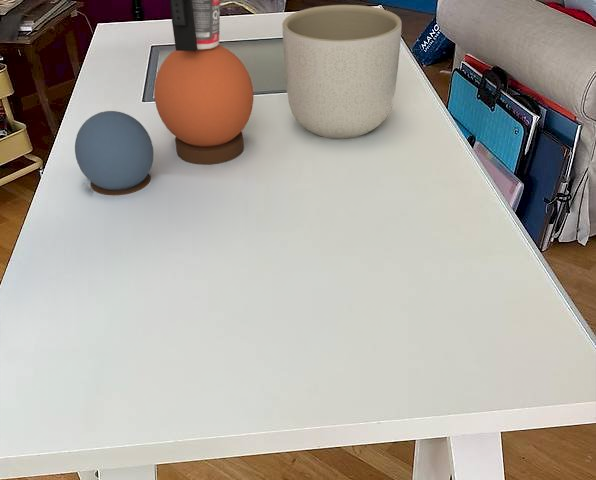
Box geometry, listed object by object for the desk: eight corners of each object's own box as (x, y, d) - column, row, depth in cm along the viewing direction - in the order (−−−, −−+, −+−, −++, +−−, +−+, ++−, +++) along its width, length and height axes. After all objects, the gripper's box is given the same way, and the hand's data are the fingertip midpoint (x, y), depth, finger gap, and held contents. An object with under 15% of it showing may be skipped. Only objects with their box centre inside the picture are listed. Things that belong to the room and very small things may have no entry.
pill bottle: (222, 51, 97) (223, -31, 90) (182, 50, 95) (180, -32, 89) (216, 37, 100) (216, -43, 94) (177, 36, 99) (175, -44, 93)
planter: (414, 137, 109) (423, 30, 99) (309, 157, 105) (307, 47, 95) (367, 98, 121) (371, -2, 111) (271, 114, 117) (266, 13, 107)
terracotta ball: (150, 167, 104) (131, 59, 94) (180, 127, 114) (166, 26, 104) (244, 173, 102) (235, 63, 92) (266, 132, 112) (260, 29, 102)
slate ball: (74, 208, 96) (52, 128, 88) (103, 174, 103) (85, 97, 96) (145, 214, 94) (129, 132, 87) (169, 179, 101) (157, 100, 94)
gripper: (175, -160, 74) (200, 67, 89) (230, -182, 90) (244, 14, 105) (106, -160, 75) (143, 64, 90) (172, -181, 91) (195, 13, 106)
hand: (197, 37), depth 97 cm, fingers open, 9 cm apart
